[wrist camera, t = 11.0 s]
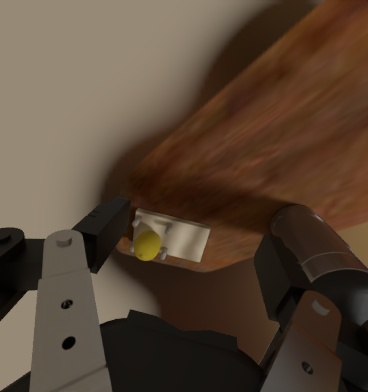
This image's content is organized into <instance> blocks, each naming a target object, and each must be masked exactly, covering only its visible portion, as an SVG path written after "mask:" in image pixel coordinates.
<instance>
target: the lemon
mask: <svg viewBox="0 0 368 392" xmlns="http://www.w3.org/2000/svg"><path fill="white" fill-rule="evenodd" d="M160 247H161V239H160V236H159V235H158V234H157V233H156V232H154V231H151V230H147V231H144V232H142V233H141V234H140V235H139V236H138V237H137V239H136V241H135V243H134V253H135V255H136V256H137V258H139V259H141V260H143V261H148V260H151V259H153V258H154V257H155V256H156V255H157V254H158V252H159V250H160Z"/></svg>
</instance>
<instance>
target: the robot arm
mask: <svg viewBox="0 0 368 392" xmlns="http://www.w3.org/2000/svg"><path fill="white" fill-rule="evenodd" d="M130 205H131V201H130V199H126V198H122V197H116V198H115V199H114V200H113V201H112V202H111V203H107V202H106V203H103V204H101V205H98V206H97V207H96V208H95V209H94V210H93V211H92V212H90V213H89V214H88V216H86V217H84V218H83V219H82V220H81V221H80V222H79V223H78V224H76V225H75V226H74V227H73V228H72V229H71V230H61V231H57V232H54V233H52V234H51V235H49V236H48V237H47V238H46V239H25V236H24V232H23V231H22V230H20V229H18V228H0V321H1V320H2V319H3V318H4V317H5V316H6V314H7V313H8V312H9V311H10V310H11V309H12V308H13V307H14V305H16V303H17V302H18V301H19V300H20V299H21V298H22V297H23V296H24V294H26V292H27V291H29V290H38V292H37V304H36V317H35V328H34V341H33V353H32V366H31V371H29V372H28V373H26V374H25V375H23V376H22V377H21V378H19V379H18V380H16V381H15V382H13V383H12V384H10V385H9V386H7V387H6V388H4V389H3V390H1V391H0V392H368V268H367V267H366V266H365V265H364V264H363V263H362V262H361V261H360V260H359V259H358V258H357V257H356V256H355V254H354V253H352V251H351V250H350V246H349V245H348V244H347V243H346V242H345V241H344V240H343V239H342V238H341V237H340V236H339V235H338V234H337V233H336V232H335V231H334V230H333V229H332V228H331V227H330V226H329V225H328V224H327V223H326V222H325V221H324V220H323V219H322V218H321V217H319V216H317V215H316V213H315V212H314V211H312V210H311V209H310V208H308V207H306V206H302V205H290V206H287V207H284V208H282V209H281V210H279V211H278V212H277V213H276V214H275V215H274V216H273V218H272V219H271V222H270V229H271V232H272V234H273V235H271V234H265V235H264V237H263V239H262V241H261V243H260V245H259V247H258V249H257V251H256V253H255V256H254V266H255V269H256V273H257V277H258V281H259V284H260V288H261V292H262V296H263V300H264V303H265V307H266V311H267V315H268V318H269V320H273V321H277V322H279V324H280V327H279V328H278V330H277V332H276V333H275V335H274V337H273V339H272V341H271V343H270V345H269V347H268V349H267V350H266V352H265V354H264V356H263V358H262V360H261V362H260V364H259V365H258V364H257V363H256V362H255V361H254V360H253V359H252V358H251V357H250V356H248V355H247V354H246V353H245V352H243V351H242V350H240V349H239V348H238V346H237V338H236V337H234V336H230V335H226V334H222V333H219V332H215V331H211V330H207V331H206V330H204V331H203V330H201V331H182V330H180V329H178V328H176V327H174V326H173V325H171V324H169V323H167V322H166V321H164V320H162V319H160V318H159V317H157V316H153V315H150V314H146V313H143V312H139V311H135V310H130V312H129V314H128V317H127V318H121V319H115V320H111V321H108V322H105V323H103V324H100V325H99V320H98V315H97V309H96V303H95V297H94V291H93V285H92V280H91V274H90V272H91V273H95V274H97V273H98V271H99V270H100V268H101V267H102V265H103V264H104V262H105V261H106V260H107V258H108V257H109V255H110V254H111V252H112V251H113V249H114V248H115V246H116V245H117V243H118V242H119V241H120V239H121V238H122V236H123V235H124V233H125V232H126V230H127V227H128V224H129V216H130Z"/></svg>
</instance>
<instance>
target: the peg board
mask: <svg viewBox="0 0 368 392" xmlns="http://www.w3.org/2000/svg"><path fill="white" fill-rule="evenodd" d="M132 226H133V227H134V235H133V244H132V245H131V247H130V249H129V251H130V252H134V243H135V241H136V239H137V237H138V236H139V235H140V234H141V233H142V232H144V231H147V230H151V231H154V232H156V233H157V234H158V235H159V236H160V239H161V247H160V250H159V252H160V253H161V255H160V259H161V260H164V259H165V256H166V254H168V255H172V256H176V257H180V258H184V259H188V260H192V261H196V262H200V260H201V257H202V254H203V251H204V247H205V244H206V241H207V238H208V235H209V232H210V226H209V225H205V224H201V223H197V222H193V221H189V220H185V219H181V218H177V217H173V216H169V215H165V214H161V213H157V212H153V211H149V210H144V209H140V208H138V209H137V211H136V216H135V220H134V221H133V223H132Z"/></svg>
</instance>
